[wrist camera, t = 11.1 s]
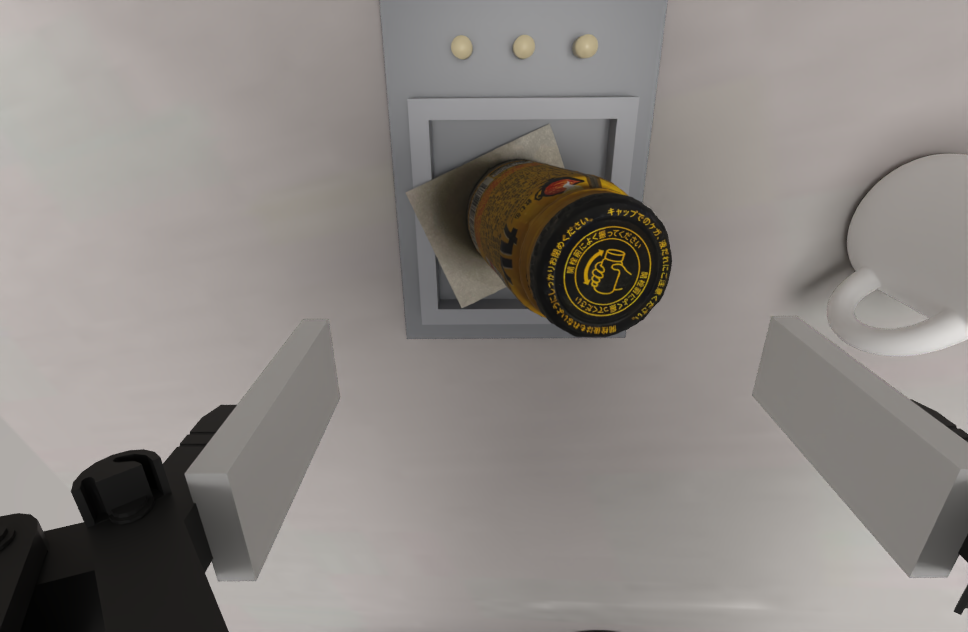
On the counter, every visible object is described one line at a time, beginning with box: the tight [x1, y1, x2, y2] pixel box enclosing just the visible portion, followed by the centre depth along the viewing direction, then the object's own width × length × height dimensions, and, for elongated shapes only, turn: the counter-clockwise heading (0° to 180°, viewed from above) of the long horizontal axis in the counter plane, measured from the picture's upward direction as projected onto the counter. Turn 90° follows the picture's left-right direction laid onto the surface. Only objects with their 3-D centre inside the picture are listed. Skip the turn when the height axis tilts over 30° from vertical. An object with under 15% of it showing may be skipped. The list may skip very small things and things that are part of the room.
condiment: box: [406, 124, 672, 337], centre depth 23 cm, size 7×8×12 cm
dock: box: [379, 0, 668, 339], centre depth 28 cm, size 20×14×2 cm
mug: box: [827, 153, 968, 356], centre depth 26 cm, size 12×8×10 cm
